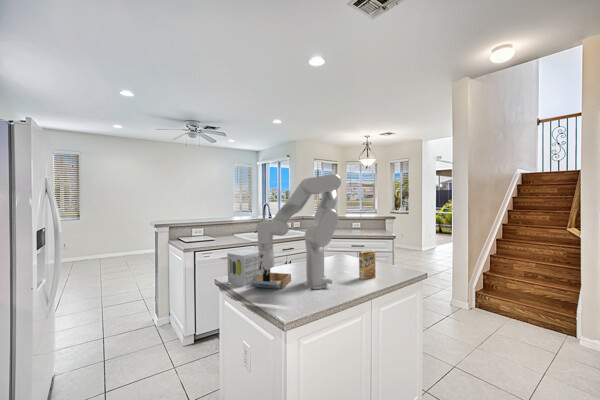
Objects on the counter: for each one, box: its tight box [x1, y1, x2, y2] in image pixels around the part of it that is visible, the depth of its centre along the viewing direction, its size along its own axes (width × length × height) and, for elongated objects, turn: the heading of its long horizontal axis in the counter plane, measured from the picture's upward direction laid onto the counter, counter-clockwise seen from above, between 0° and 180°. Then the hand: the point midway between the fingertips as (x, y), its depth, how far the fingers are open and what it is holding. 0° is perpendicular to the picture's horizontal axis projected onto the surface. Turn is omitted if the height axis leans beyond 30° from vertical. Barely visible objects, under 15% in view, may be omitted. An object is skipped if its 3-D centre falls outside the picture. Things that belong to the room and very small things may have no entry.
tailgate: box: [250, 280, 282, 290], centre depth 140 cm, size 13×2×8 cm
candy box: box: [358, 250, 377, 280], centre depth 161 cm, size 9×4×15 cm, turn 113°
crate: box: [253, 271, 292, 290], centre depth 149 cm, size 16×14×5 cm
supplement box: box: [226, 248, 262, 288], centre depth 153 cm, size 13×13×18 cm
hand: (266, 282), depth 140 cm, fingers closed
